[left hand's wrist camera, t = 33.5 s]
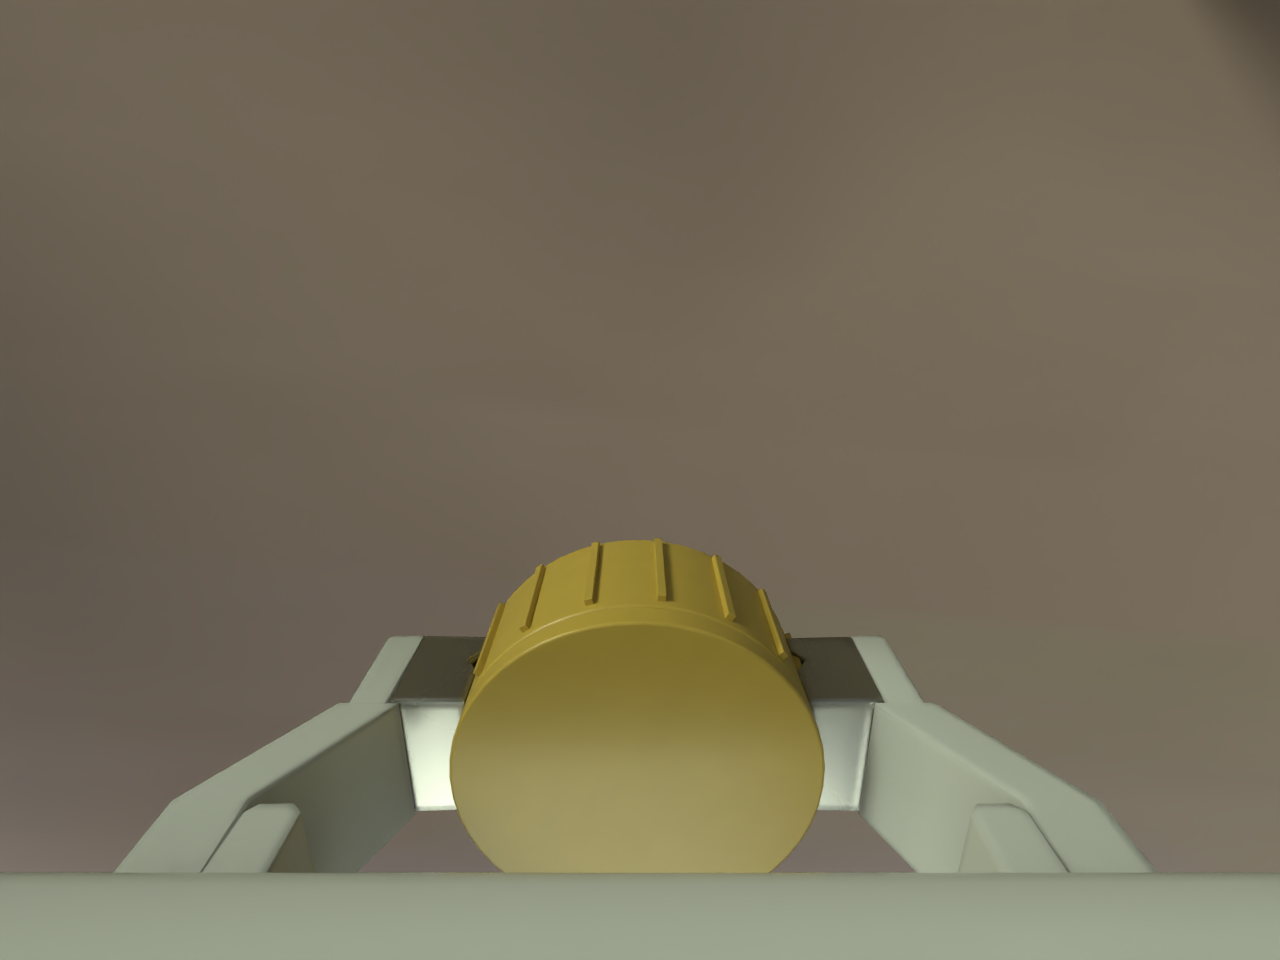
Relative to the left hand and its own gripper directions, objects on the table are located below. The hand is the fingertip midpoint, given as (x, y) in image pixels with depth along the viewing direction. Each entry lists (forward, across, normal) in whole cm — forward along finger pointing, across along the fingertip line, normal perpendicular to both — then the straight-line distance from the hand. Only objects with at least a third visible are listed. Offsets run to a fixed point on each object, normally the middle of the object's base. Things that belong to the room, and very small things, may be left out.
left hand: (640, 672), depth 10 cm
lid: (-2, 0, 0) cm, 2 cm away
